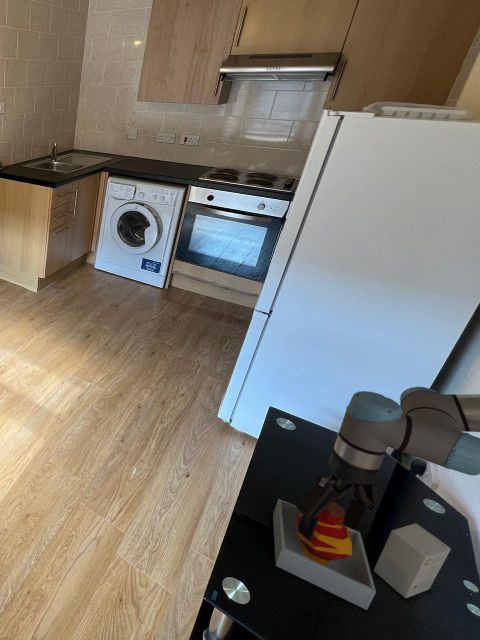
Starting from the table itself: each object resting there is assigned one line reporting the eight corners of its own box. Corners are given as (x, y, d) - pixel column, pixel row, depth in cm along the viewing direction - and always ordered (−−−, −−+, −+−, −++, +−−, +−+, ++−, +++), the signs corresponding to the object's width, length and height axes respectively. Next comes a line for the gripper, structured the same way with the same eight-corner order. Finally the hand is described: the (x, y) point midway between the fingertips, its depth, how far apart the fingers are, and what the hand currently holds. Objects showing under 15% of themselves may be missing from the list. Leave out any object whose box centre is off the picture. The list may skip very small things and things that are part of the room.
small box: (396, 562, 97) (415, 522, 93) (430, 590, 92) (452, 548, 88) (371, 570, 96) (390, 529, 91) (405, 599, 90) (427, 557, 86)
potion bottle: (302, 570, 94) (321, 523, 90) (281, 529, 104) (297, 484, 99) (355, 582, 92) (377, 534, 87) (328, 539, 102) (347, 494, 97)
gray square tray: (352, 549, 100) (360, 532, 98) (367, 610, 87) (376, 592, 86) (272, 514, 109) (278, 498, 107) (275, 565, 96) (281, 548, 94)
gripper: (380, 438, 94) (353, 507, 101) (292, 452, 90) (269, 524, 96) (420, 463, 87) (388, 535, 94) (326, 480, 83) (299, 555, 89)
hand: (327, 530), depth 95 cm, fingers open, 13 cm apart
